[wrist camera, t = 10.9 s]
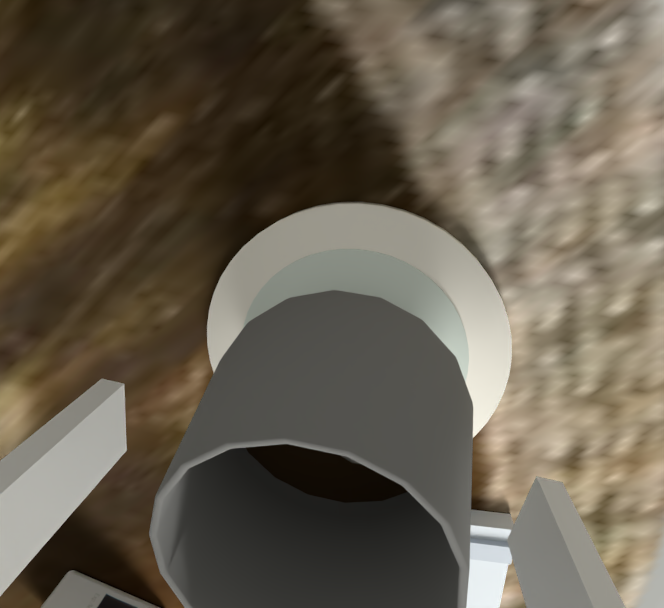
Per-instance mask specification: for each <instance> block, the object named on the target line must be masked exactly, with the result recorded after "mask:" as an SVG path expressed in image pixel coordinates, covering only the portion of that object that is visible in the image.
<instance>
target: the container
mask: <svg viewBox="0 0 664 608" xmlns="http://www.w3.org/2000/svg"><path fill="white" fill-rule="evenodd" d="M40 608H160V607H158V606H155V605H153V604H151V603H148V602H146V601H144V600H142V599H139V598H137V597H135V596H132V595H130V594H128V593H126V592H123V591H121V590H119V589H116V588H114V587H112V586H109V585H107V584H105V583H103V582H100V581H98V580H96V579H93V578H91V577H89V576H86V575H84V574H82V573H80V572H77V571H75V570H72V571H69V572H68V573H67V574H66V575H65V576H64V578H63V579H62V580H61V582H60V583H59V584H58V585H57V587H56V588H55V589H54V591H53V592H52V593H51V595H50V596H49V597H48V598H47V600H46V601H45V602H44V604H43V605H42V606H41V607H40Z"/></svg>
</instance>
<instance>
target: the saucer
mask: <svg viewBox="0 0 664 608" xmlns="http://www.w3.org/2000/svg"><path fill="white" fill-rule="evenodd" d="M331 290H339V291H345V292H351V293H357V294H363V295H369V296H375V297H381V298H383V299H385V300H386V301H388V302H390V303H392V304H394V305H396V306H398V307H400V308H401V309H403V310H405V311H407V312H409V313H411V314H413V315H414V316H416V317H418V318H420V319H422V320H423V321H424V322H425V323H426V324H427V325H428V326H429V328H430V329H431V330H432V331H433V332H434V333H435V334H436V335H437V336H438V338H439V339H440V340H441V341H442V342H443V343H444V344H445V345H446V346H447V348H448V349H449V350H450V351H451V352H452V353H453V354H454V355H455V356H456V359H457V361H458V364H459V366H460V369H461V372H462V375H463V377H464V380H465V383H466V386H467V388H468V391H469V394H470V396H471V399H472V402H473V437H475V435H476V434H477V433H478V432H479V431H480V430H481V429H482V428H483V427H484V425H485V424H486V423H487V422H488V420H489V419H490V417H491V416H492V414H493V413H494V411H495V410H496V408H497V406H498V404H499V402H500V400H501V398H502V395H503V393H504V391H505V387H506V384H507V381H508V377H509V373H510V366H511V359H512V337H511V332H510V326H509V320H508V316H507V313H506V310H505V307H504V304H503V301H502V299H501V297H500V295H499V293H498V291H497V289H496V287H495V285H494V283H493V281H492V280H491V278H490V277H489V275H488V274H487V272H486V271H485V270H484V268H483V267H482V265H481V264H480V263H479V261H478V260H477V259H476V257H475V256H474V255H473V254H472V253H471V252H470V251H469V250H468V249H467V248H466V247H465V246H464V245H463V244H462V243H461V242H460V241H459V240H457V239H456V238H455V237H454V236H452V235H451V234H450V233H448V232H447V231H446V230H445V229H443V228H441V227H440V226H438V225H436V224H434V223H433V222H431V221H429V220H427V219H426V218H423V217H421V216H419V215H416V214H414V213H411V212H409V211H406V210H403V209H400V208H396V207H392V206H388V205H384V204H377V203H368V202H336V203H330V204H323V205H318V206H314V207H311V208H307V209H304V210H301V211H298V212H296V213H293V214H291V215H289V216H287V217H285V218H282V219H280V220H279V221H277V222H276V223H274V224H272V225H271V226H269V227H268V228H266V229H265V230H263V231H262V232H260V233H258V234H257V235H256V236H255V237H254V238H253V239H251V240H250V241H249V242H248V243H247V244H246V245H244V246H243V247H242V248H241V250H240V251H239V252H238V253H237V254H236V255H235V257H234V258H233V259H232V260H231V261H230V263H229V264H228V266H227V268H226V269H225V271H224V272H223V274H222V276H221V277H220V280H219V282H218V284H217V287H216V289H215V291H214V294H213V297H212V301H211V305H210V308H209V315H208V323H207V345H208V351H209V357H210V362H211V365H212V369H213V372H215V370H216V368H217V366H218V364H219V362H220V360H221V358H222V357H223V355H224V354H225V352H226V351H227V350H228V348H229V347H230V346H231V344H232V343H233V342H234V340H235V339H236V338H237V336H238V335H239V333H240V332H241V331H242V329H243V328H244V327H245V325H246V324H247V323H248V322H249V321H250V320H252V319H254V318H255V317H257V316H259V315H260V314H262V313H264V312H265V311H267V310H269V309H271V308H272V307H274V306H276V305H277V304H279V303H281V302H282V301H284V300H286V299H288V298H290V297H296V296H302V295H307V294H313V293H319V292H325V291H331Z"/></svg>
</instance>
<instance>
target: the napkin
mask: <svg viewBox="0 0 664 608" xmlns="http://www.w3.org/2000/svg"><path fill="white" fill-rule="evenodd" d="M513 526H514V524H513V521H512V517H511V514H506V513H497V512H488V511H480V510H471V528H470V569H469V581H468V593H467V605H466V608H499V607H500V602H501V597H502V592H503V587H504V583H505V578H506V573H507V568H508V564H511V561H512V556H511V552H510V549H509V545H508V542H507V539H508V537H509V534H510V532H511V530H512V528H513Z"/></svg>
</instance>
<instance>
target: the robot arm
mask: <svg viewBox="0 0 664 608" xmlns="http://www.w3.org/2000/svg"><path fill="white" fill-rule="evenodd" d="M126 451H127V445H126V418H125V392H124V384H123V383H119V382H114V381H110V380H105V379H101V380H100V381H98V382H97V383H96V384H95V385H93V386H92V387H91V388H90V389H88V390H87V391H86V392H85V393H83V394H82V395H81V396H80V397H79V398H77V399H76V400H75V401H74V402H72V403H71V404H70V405H69V406H67V407H66V408H65V409H64V410H62V411H61V412H60V413H59V414H57V415H56V416H55V417H54V418H52V419H51V420H50V421H49V422H48V423H46V424H45V425H44V426H43V427H41V428H40V429H39V430H38V431H36V432H35V433H34V434H33V435H31V436H30V437H29V438H28V439H26V440H25V441H24V442H23V443H21V444H20V445H19V446H18V447H17V448H15V449H14V450H13V451H12V452H10V453H9V454H8V455H7V456H5V457H4V458H3V459H2V460H0V596H1V595H2V593H3V592H4V591H5V590H6V589H7V588H8V587H9V585H10V584H11V583H12V582H13V581H14V580H15V578H16V577H17V576H18V575H19V574H20V573H21V572H22V570H23V569H24V568H25V567H26V566H27V565H28V563H29V562H30V561H31V560H32V559H33V558H34V557H35V555H36V554H37V553H38V552H39V551H40V550H41V548H42V547H43V546H44V545H45V544H46V543H47V542H48V540H49V539H50V538H51V537H52V536H53V535H54V534H55V532H56V531H57V530H58V529H59V528H60V527H61V525H62V524H63V523H64V522H65V521H66V520H67V519H68V517H69V516H70V515H71V514H72V513H73V512H74V510H75V509H76V508H77V507H78V506H79V505H80V504H81V502H82V501H83V500H84V499H85V498H86V497H87V495H88V494H89V493H90V492H91V491H92V490H93V489H94V487H95V486H96V485H97V484H98V483H99V482H100V480H101V479H102V478H103V477H104V476H105V475H106V474H107V472H108V471H109V470H110V469H111V468H112V467H113V466H114V464H115V463H116V462H117V461H118V460H119V459H120V457H121V456H122V455H123V454H124V453H125V452H126ZM507 542H508V545H509V549H510V552H511V556H512V559H513V563H514V566H515V569H516V573H517V576H518V580H519V583H520V587H521V590H522V593H523V597H524V600H525V604H526V607H527V608H626V607H625V605H624V603H623V601H622V599H621V597H620V595H619V593H618V591H617V589H616V587H615V586H614V584H613V582H612V580H611V578H610V576H609V574H608V572H607V570H606V568H605V566H604V564H603V562H602V560H601V558H600V556H599V554H598V552H597V550H596V548H595V546H594V544H593V542H592V540H591V538H590V536H589V534H588V532H587V530H586V528H585V526H584V524H583V522H582V520H581V518H580V516H579V514H578V512H577V510H576V508H575V506H574V504H573V502H572V500H571V498H570V496H569V494H568V492H567V490H566V488H565V486H564V484H563V482H559V481H555V480H550V479H546V478H541V477H537V476H536V479H535V481H534V483H533V485H532V487H531V489H530V491H529V494H528V496H527V498H526V500H525V502H524V504H523V506H522V509H521V511H520V513H519V515H518V517H517V519H516V522H515V524H514V526H513V528H512V530H511V532H510V534H509V537H508V539H507Z"/></svg>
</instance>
